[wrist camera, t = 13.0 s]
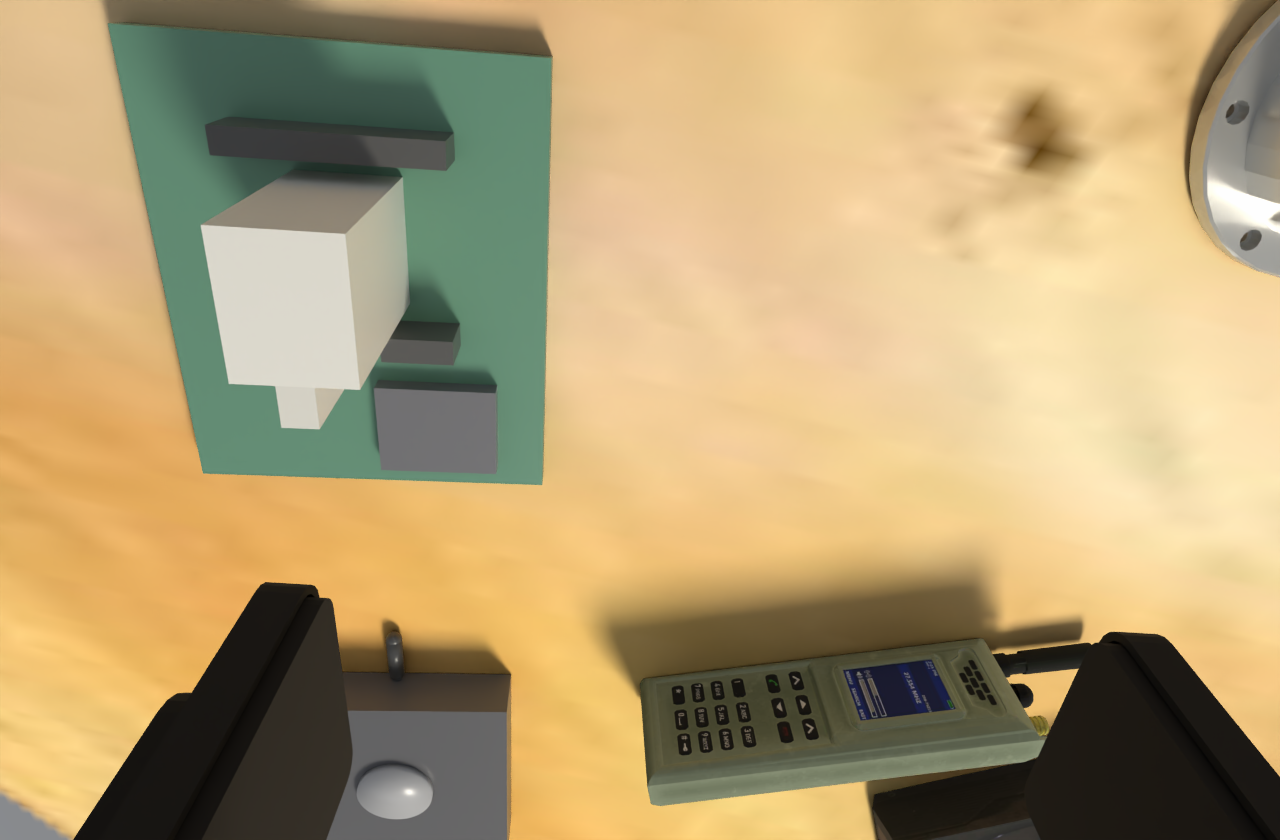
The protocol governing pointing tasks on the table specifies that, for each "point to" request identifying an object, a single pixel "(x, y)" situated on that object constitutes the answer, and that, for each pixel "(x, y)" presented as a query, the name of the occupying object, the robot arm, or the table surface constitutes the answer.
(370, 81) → the board
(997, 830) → the portable cd player
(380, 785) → the gray dome slab
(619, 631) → the table surface
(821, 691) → the handheld radio
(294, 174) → the plug
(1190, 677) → the robot arm
